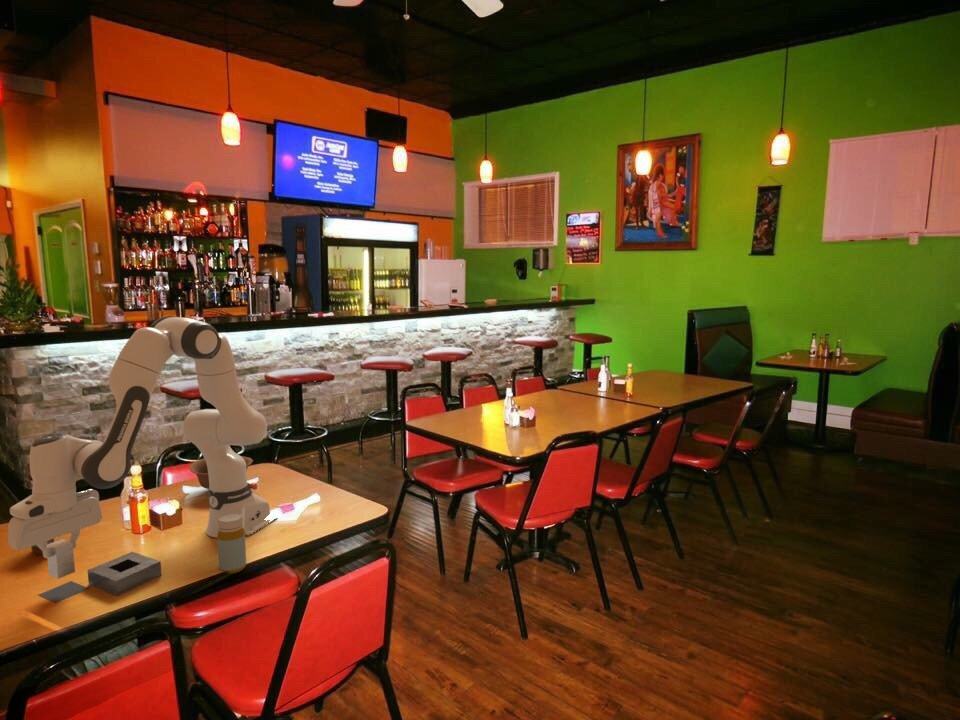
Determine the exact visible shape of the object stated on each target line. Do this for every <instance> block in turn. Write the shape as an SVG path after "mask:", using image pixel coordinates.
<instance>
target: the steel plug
mask: <svg viewBox="0 0 960 720" xmlns="http://www.w3.org/2000/svg"><path fill="white" fill-rule="evenodd" d="M46 548H47V549H48V548H50V549H53V556H51V557H49V558H46V559H47V567H48V576H51V577H52V578H55V579H58V580H59V579H61V578H65V576H68V575H70V574H71V575H72V574H74V573H75V572H76V567H75V556H74V548H73V542H71V541H69V539H65V538H61V539H59V540H56V541H54V542H53V543H50V544H47V545H46Z"/></svg>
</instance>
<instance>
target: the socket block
mask: <svg viewBox="0 0 960 720" xmlns="http://www.w3.org/2000/svg"><path fill="white" fill-rule="evenodd" d="M161 576H162V563H161V560H158V559H154V558H153V557H152V558H151V557H150V556H146V555H143V554H140V553H138V552H134V551H131V552H128V553H126V554H123V555H121V556H118V557H116V558H114V559H112V560H108V561H106V562H103V563H101V564H99V565H97V566H94V567H91V568H90V569H87V581H88V582H87V583H88V586H90V587H93V588H96V589H97V590H101V591H103V592H105V593H108V594H111V595H113V596H115V597H120V596H122V595H123V594H125V593H127V592H130V591H132V590H134V589H136V588H138V587H141V586H143V585H145V584H147V583H149V582H151V581H153V580H156V579H157V578H159V577H161Z"/></svg>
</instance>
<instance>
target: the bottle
mask: <svg viewBox="0 0 960 720" xmlns="http://www.w3.org/2000/svg"><path fill="white" fill-rule="evenodd" d="M242 523H243V518H242V514H240V513H228V514H224V515H222V516H220V517H219V518H218V526H219V532H218V535H217V553H218V554H217V555H218V568H219V570H220V571H222V572H225V574H226V575H231V574H232V575H233V574H237V573H239V572H241V571H243V570H244V569H245V568H246V566H247V551H246V550H247V548H246V536H245V531H244V528H243V524H242Z"/></svg>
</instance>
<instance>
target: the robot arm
mask: <svg viewBox="0 0 960 720" xmlns="http://www.w3.org/2000/svg"><path fill="white" fill-rule="evenodd" d="M231 347H232V346H231V345H230V342H229V340H228V338H227V337H226V336H225V335H223V334H221V333H219V332H218V331H217V329H216V328H215V327H214V326H213V325H211V324H209V323H208V322H207V321H206V322H205V321H203V320H198V319H195V318H194V319H193V318H192V317H191V318H190V317H182V316H181V317H180V316H174V315H168V316H167V315H166V316H161V317H159V318H158V319H155V320H154V321H153V322H152V323H151V325H150V326H149V327H148V326H146V327H145V326H144V327H140V328H138V329H136V330H135V331H134V332H133V333H132V335H131V336H130V338H129V339H128V340H127V341H126V343H125V345H124V346H123V348H122V349H121V350H120V352H119V354H118V356H117V358H116V360H115V362H114V364H113V367H112V369H111V370H110V375H109V378H108V385H109V388H110V390H111V393H112V394H113V395H114V399H115V403H116V408H115V409H116V410H115V414H114V417H113V419H112V422H111V423H110V427H109V429H108V431H107V434H106V437H105V439H104V441H103V442H102V441H100V440H96V439H84V438H79V437H75V436H73V435H69V434H68V433H65V432H56V433H50V434H46V435H43V436H41V437H39V438H38V439H36V440H35V441H33V442H32V445H31V447H30V450H29V451H30V452H29V471H30V474H29V475H30V477H31V478H32V482H33V483H32V484H33V485H32V487H31V488H32V489H31V493H32V494H31V495H29V496H27V497H25V498H24V499H23V500H21V501H19V502H17V503H16V504H14V505H12V506H11V507H10V508H9V513H10V515H11V516H13V517H11V519H10V520H9V521H8V522H9V523H8V527H7V539H8V541H7V542H8V546H9V547H10V548H12V549H13V550H16V551H23V550H25V549H29V548H31V546H34V545H37V546H38V547H39V548H40V549H41V550H42V551H43V557H42V558H45V559H47V558H49V557H51V556H53V549H50V548H48V549H47V548H46V545H47V541H49V540H51V539H54V540H55V539H57V538H60V537H62V536H65V535H68V534H70V538H69V539H68V541H71V542H73V549H75V548H77V541H78V539H79V537H80V535H81V530H83V529H86V528H88V527H91V526H94V525H97V524H99V523H100V522H101V520H102V519H103V515H102V514H103V513H102V508H101V505H100V502H99V501H100V495H99V491H97V490H96V489H99V490H107V489H111V488H114V487H116V486H118V485H120V484H121V483H122V482H124V480H125V479H126V478H127V477H128V475H129V473H130V470H131V466H132V465H131V460H132V457H131V455H132V450H133V447H134V444H135V442H136V439H137V436H138V434H139V432H140V428H141V427H142V423H143V421H144V418H145V415H146V413H147V410H148V408H149V403H150V400H151V397H152V393H153V392H154V390H155V387H156V386H157V383H158V380H159V378H160V375H161V374H162V372H163V370H164V367H165V365H166V362H167V361H168V360H169V359H170V358H172V356H178V357H184V358H185V357H186V358H191V359H193V360H194V367H195V374H196V379H197V384H198V390H199V395H200V397H201V398H202V399H203V400H204V401H206V402H207V403H209V404H211V405H212V406H213V407H215V408H204V409H199V410H194V411H193V410H192V411H191V412H189V413H188V414H187V415H186V417H185V418H184V420H183V425H182V431H183V434H184V436H185V438H186V439H187V440H188V441H189V442H191V443H192V444H193V445H194V446H195V447H196V448H197V449H198V450H199V452H200V453H201V455H202V457H203V459H205V461H206V464H207V468H208V476H209V489H207V495H208V497H207V498H208V503H209V511H208V512H209V513H208V514H209V515H208V520H207V527H206V531H205V533H206V535H207V536H209V537H212V538H217V535H218V532H219V526H218V518H219V517H220V516H222V515H224V514H228V513H240V514H242V518H243V523H242V524H243V528H244V531H245V535H247V536H251V535H250V534H252V535H254V534H255V533H257V532H258V531H260V530H261V529H263V528H264V527H263V526H265V525H266V524H267V523H269V521H270V520H267V521H266V520H264V519H265V518H266V517H267V516H268V515H269V514H270V511H271V509H270V504H269V502H268V501H267V500H266V499H265V498H263V497H261V496H260V495H257V494H256V493H253V492H252V490H254V491H255V490H258V488H259V484H258V483H257V482H256V483H255V482H251V483H249V482H248V479H247V478H248V477H247V472H246V462H245V460H244V459H243V458H242V457H241V455H240V454H238V453H236V452H235V451H234V450H233V449H232V448H231V446H250V445H254V444H259V443H261V442H262V441H263V440H264V438H265V436H266V434H267V431H268V424H267V420H266V418H265V416H264V415H263V414H262V413H260V412H259V411H257V410H256V409H255V408H253V407H252V405H250V403H249V402H248V400H246V398H245V397H244V395H243V392H242V391H241V388H240V384H239V379H238V375H237V369H236V363H235V358H234V353H233V350H232V348H231ZM80 480H84V481H85V482H86V483H87V484H88V485H90V486H91V487H92V488H89V489H86V490H83V491H79V492H77V485H76V482H77V481H80ZM93 488H94V489H93ZM269 524H270V523H269ZM266 526H267V525H266ZM266 526H265V527H266ZM262 527H263V528H262ZM260 528H261V529H260ZM259 529H260V530H259ZM257 530H258V531H257ZM256 531H257V532H256ZM254 532H255V533H254ZM253 533H254V534H253Z"/></svg>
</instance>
